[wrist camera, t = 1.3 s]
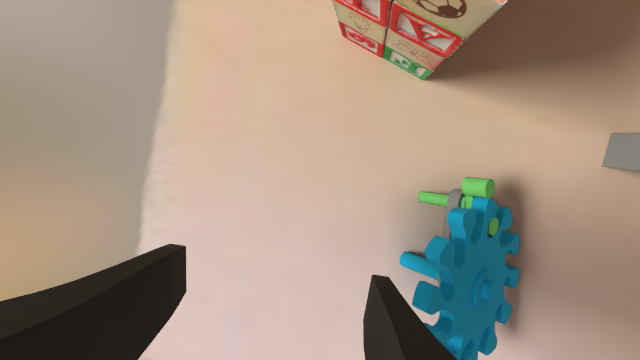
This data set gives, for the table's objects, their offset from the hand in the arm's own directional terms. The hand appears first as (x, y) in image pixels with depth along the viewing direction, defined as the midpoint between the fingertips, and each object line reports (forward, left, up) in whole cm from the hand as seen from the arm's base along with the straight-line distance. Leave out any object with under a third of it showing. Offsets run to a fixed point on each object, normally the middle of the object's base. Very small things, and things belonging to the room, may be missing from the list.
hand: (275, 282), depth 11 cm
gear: (-1, -10, -11) cm, 15 cm away
